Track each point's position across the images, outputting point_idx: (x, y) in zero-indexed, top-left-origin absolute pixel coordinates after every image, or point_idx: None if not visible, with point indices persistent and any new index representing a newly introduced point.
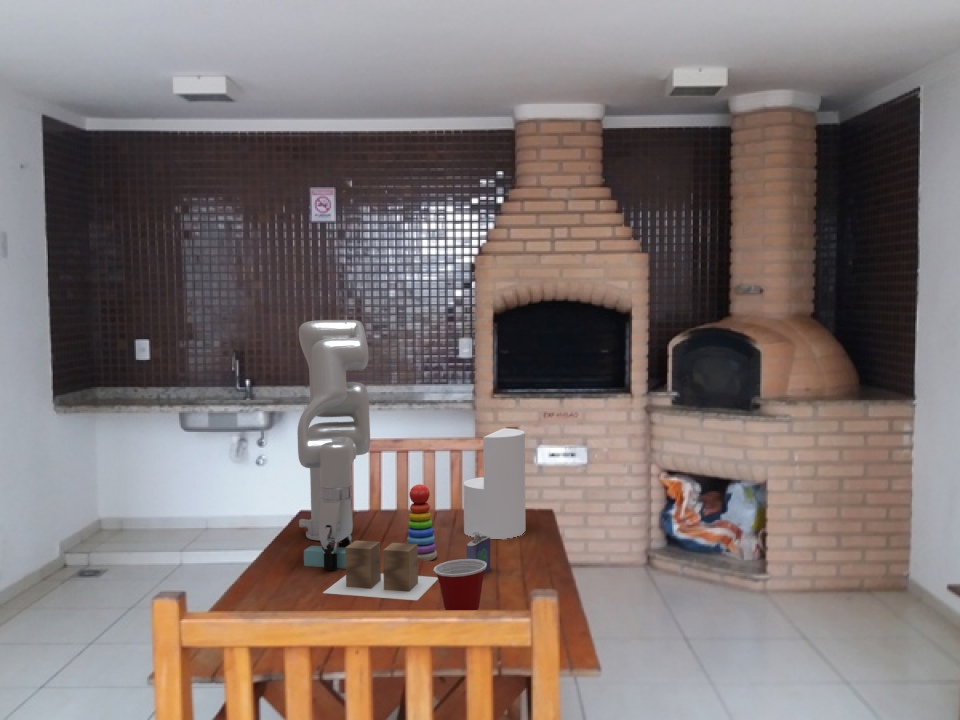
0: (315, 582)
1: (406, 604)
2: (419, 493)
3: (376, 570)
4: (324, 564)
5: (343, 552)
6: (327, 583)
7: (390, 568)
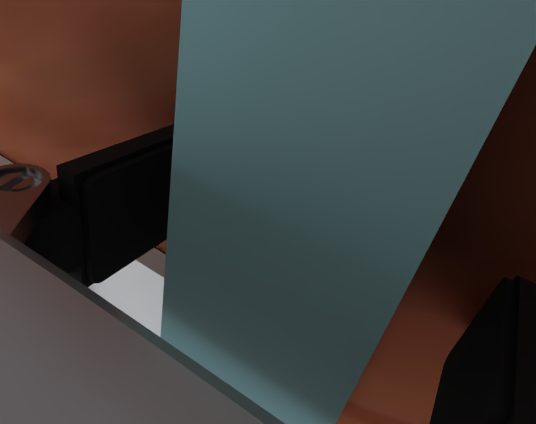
0: (77, 65)
1: None
2: None
3: None
4: (156, 134)
5: (177, 346)
6: (81, 143)
7: None
